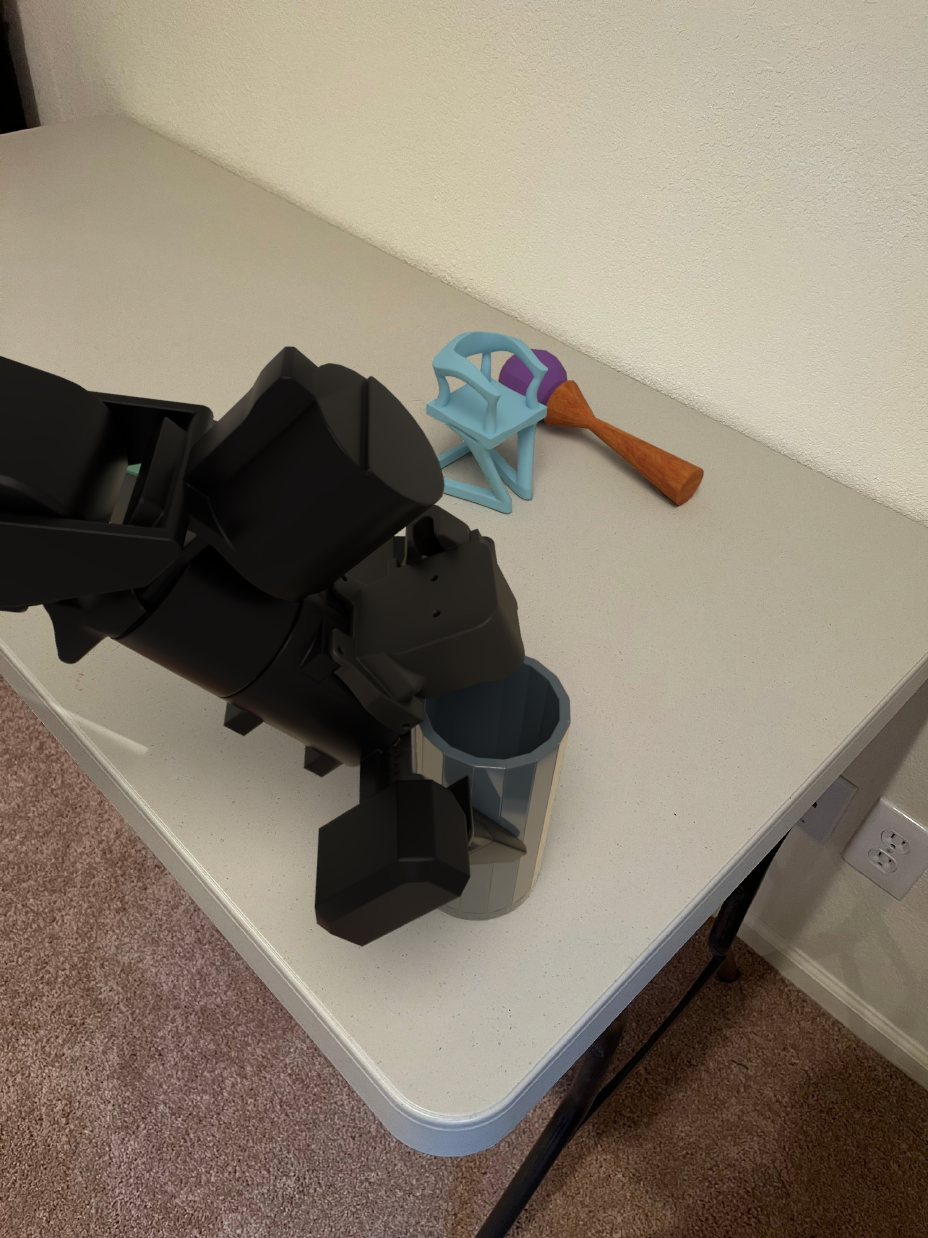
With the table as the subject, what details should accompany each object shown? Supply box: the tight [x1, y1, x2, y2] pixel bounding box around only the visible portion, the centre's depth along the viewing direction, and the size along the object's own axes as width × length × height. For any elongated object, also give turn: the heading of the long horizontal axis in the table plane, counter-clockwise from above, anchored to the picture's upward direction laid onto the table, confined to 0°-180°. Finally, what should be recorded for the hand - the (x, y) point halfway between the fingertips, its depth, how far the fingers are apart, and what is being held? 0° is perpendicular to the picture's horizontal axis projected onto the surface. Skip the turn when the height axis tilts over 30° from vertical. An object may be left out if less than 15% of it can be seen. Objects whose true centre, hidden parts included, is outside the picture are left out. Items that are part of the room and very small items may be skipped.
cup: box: [416, 655, 572, 921], centre depth 44 cm, size 7×7×13 cm
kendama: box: [497, 348, 705, 506], centre depth 76 cm, size 6×6×20 cm
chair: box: [425, 330, 548, 514], centre depth 69 cm, size 8×8×12 cm
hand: (511, 789), depth 44 cm, fingers closed on cup, 7 cm apart
